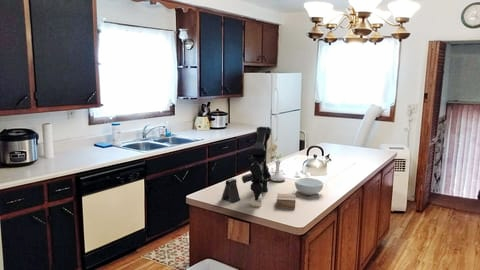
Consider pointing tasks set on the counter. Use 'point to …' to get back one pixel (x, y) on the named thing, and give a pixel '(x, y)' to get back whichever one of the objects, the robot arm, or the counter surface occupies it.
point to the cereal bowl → (308, 186)
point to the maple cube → (256, 203)
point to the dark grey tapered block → (231, 191)
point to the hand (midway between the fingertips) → (256, 197)
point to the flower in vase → (277, 174)
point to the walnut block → (286, 201)
